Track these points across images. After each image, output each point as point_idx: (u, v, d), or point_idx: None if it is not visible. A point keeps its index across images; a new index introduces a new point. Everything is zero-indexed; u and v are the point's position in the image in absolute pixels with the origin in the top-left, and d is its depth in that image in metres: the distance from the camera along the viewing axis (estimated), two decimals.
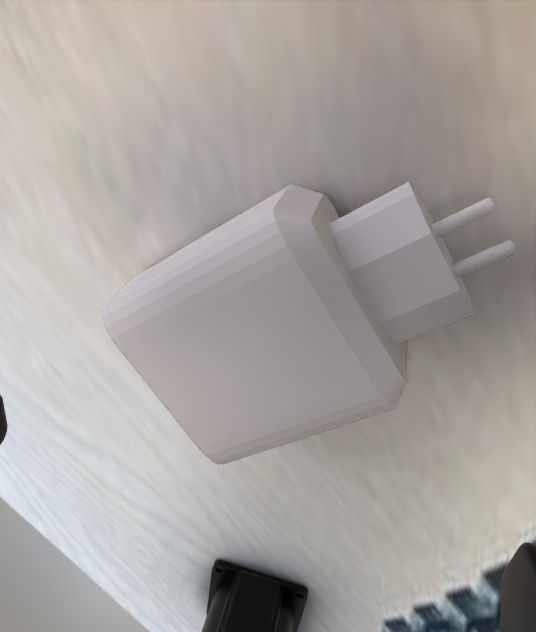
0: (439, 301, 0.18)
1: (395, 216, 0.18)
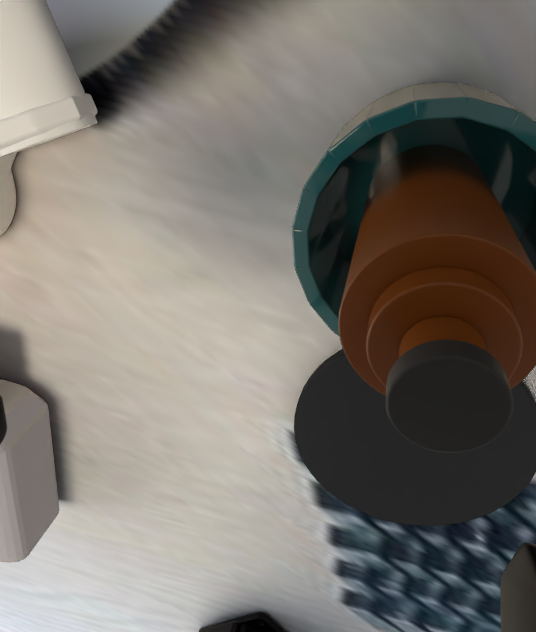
0: None
1: None
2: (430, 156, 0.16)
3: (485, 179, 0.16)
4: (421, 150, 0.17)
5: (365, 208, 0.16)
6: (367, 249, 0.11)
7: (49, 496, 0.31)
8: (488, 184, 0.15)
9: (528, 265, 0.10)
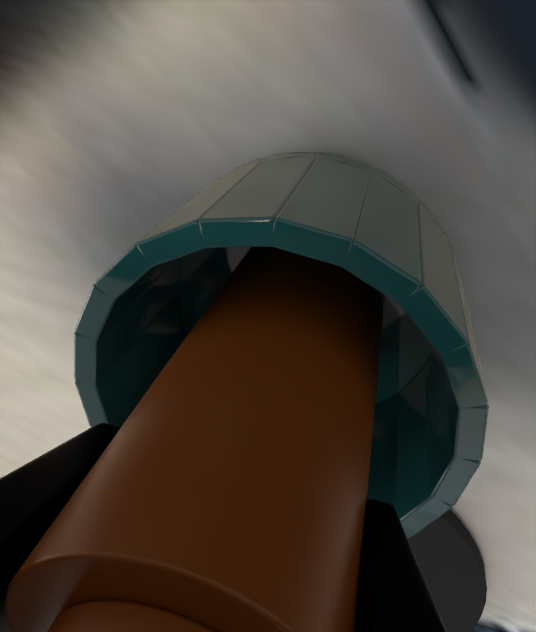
0: None
1: None
2: (278, 266, 0.11)
3: (358, 296, 0.11)
4: (278, 248, 0.12)
5: None
6: (62, 511, 0.06)
7: None
8: (358, 308, 0.11)
9: (281, 618, 0.05)
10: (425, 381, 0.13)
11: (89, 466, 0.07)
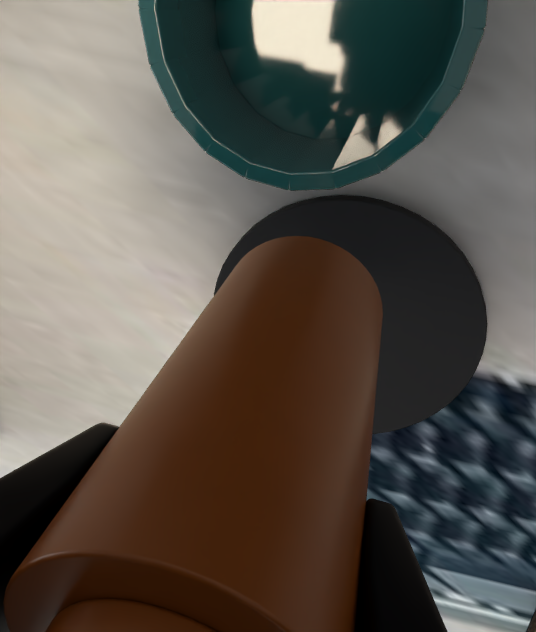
0: None
1: None
2: (277, 265, 0.11)
3: (358, 295, 0.11)
4: (278, 247, 0.12)
5: None
6: (60, 510, 0.06)
7: None
8: (358, 307, 0.11)
9: (280, 617, 0.05)
10: (435, 67, 0.15)
11: (89, 466, 0.07)
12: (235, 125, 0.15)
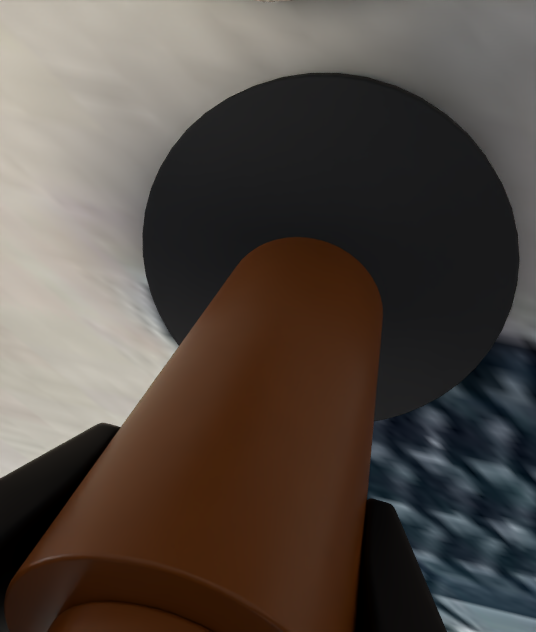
0: None
1: None
2: (278, 266, 0.11)
3: (358, 296, 0.11)
4: (278, 248, 0.12)
5: None
6: (61, 512, 0.06)
7: None
8: (358, 308, 0.11)
9: (281, 619, 0.05)
10: None
11: (89, 466, 0.07)
12: None
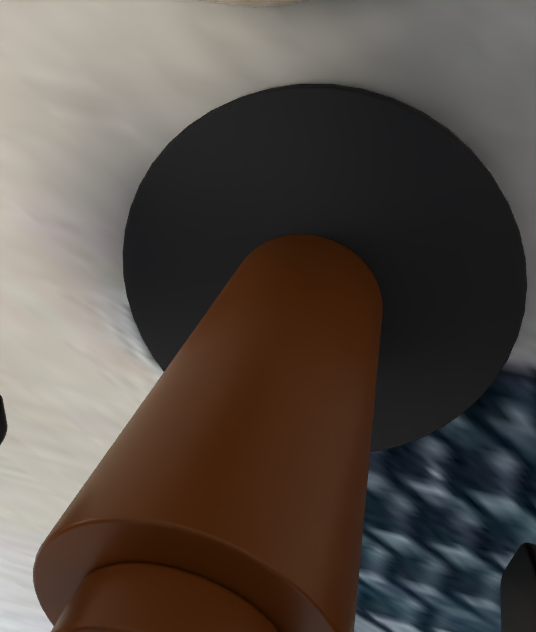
0: None
1: None
2: (282, 262, 0.11)
3: (359, 290, 0.12)
4: (282, 245, 0.12)
5: None
6: (84, 485, 0.07)
7: None
8: (359, 301, 0.11)
9: (290, 575, 0.05)
10: None
11: None
12: None
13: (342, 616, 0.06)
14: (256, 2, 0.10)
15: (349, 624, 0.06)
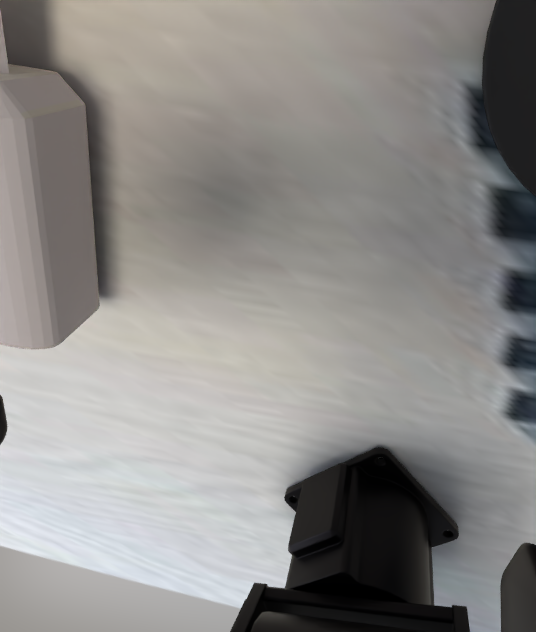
0: None
1: None
2: None
3: None
4: None
5: None
6: None
7: (87, 268, 0.21)
8: None
9: None
10: None
11: None
12: None
13: None
14: None
15: None
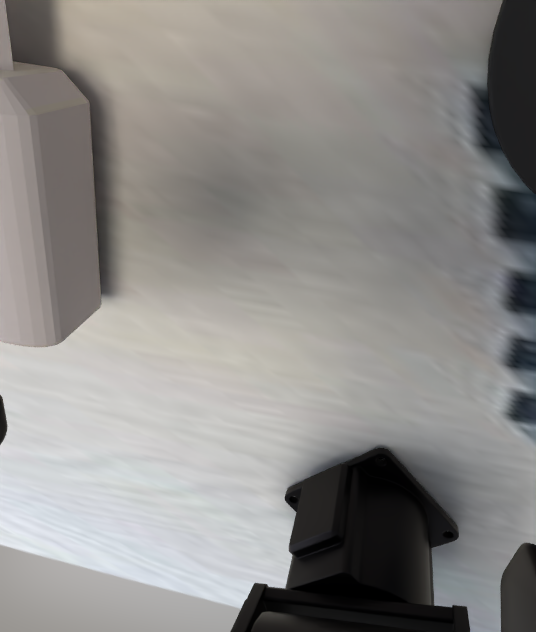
0: None
1: None
2: None
3: None
4: None
5: None
6: None
7: (90, 266, 0.21)
8: None
9: None
10: None
11: None
12: None
13: None
14: None
15: None
